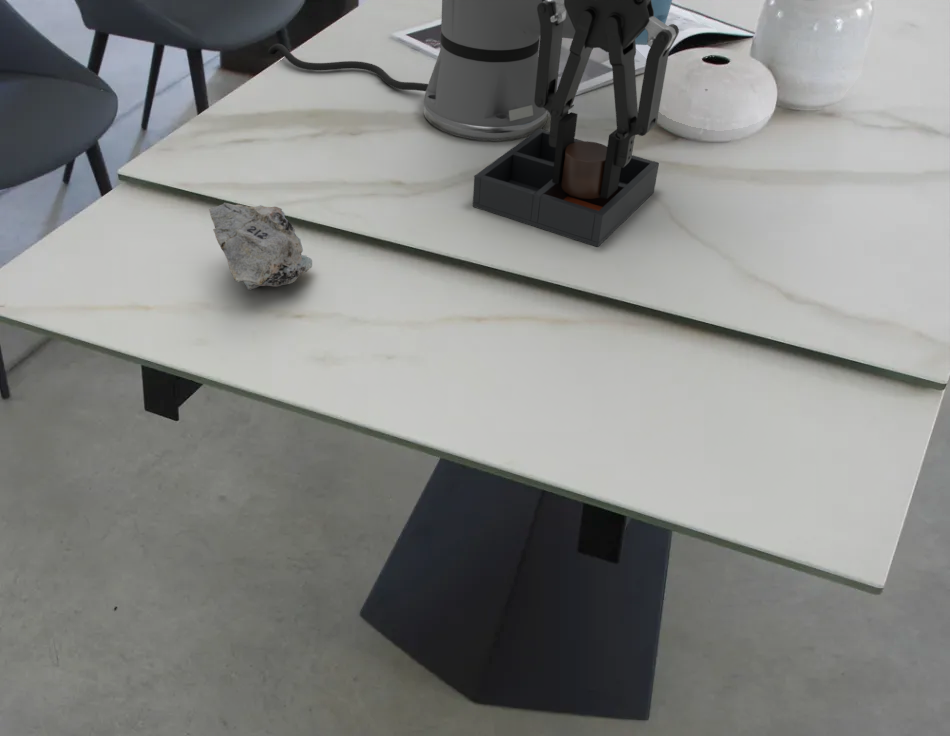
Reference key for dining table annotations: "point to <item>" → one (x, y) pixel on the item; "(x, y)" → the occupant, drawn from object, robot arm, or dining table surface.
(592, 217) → the grid
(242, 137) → the dining table surface
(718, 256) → the dining table surface
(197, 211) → the dining table surface
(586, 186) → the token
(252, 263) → the mineral specimen
